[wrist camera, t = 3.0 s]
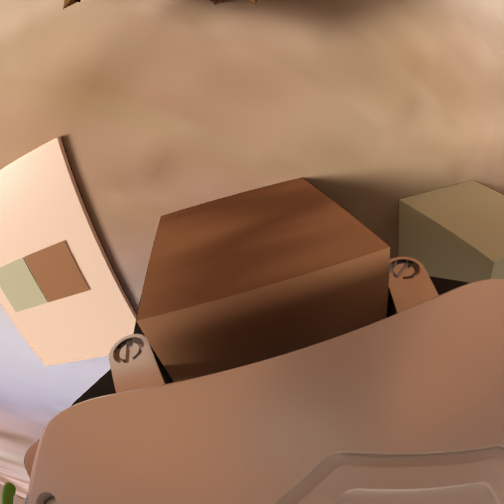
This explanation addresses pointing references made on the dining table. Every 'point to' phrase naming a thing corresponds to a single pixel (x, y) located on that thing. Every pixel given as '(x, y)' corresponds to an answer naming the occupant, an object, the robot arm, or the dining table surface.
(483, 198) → the sage block
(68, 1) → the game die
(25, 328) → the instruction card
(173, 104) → the dining table surface
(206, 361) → the walnut block
